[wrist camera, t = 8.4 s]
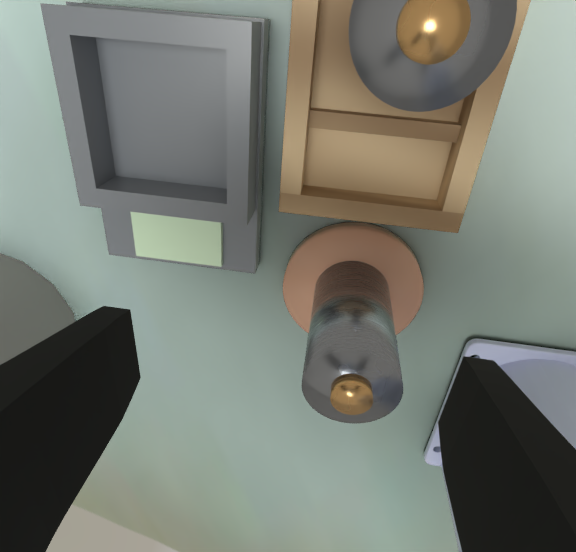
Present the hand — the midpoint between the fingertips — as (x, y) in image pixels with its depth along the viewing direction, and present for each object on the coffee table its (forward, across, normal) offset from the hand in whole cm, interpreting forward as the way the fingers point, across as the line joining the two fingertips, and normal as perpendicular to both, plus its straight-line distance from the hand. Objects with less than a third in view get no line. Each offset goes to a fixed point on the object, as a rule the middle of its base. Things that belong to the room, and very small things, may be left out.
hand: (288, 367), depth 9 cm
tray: (+10, -2, -5) cm, 12 cm away
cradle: (+10, +6, -2) cm, 12 cm away
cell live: (+10, -2, -6) cm, 12 cm away
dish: (+10, -2, +4) cm, 11 cm away
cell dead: (+10, -2, +4) cm, 11 cm away
